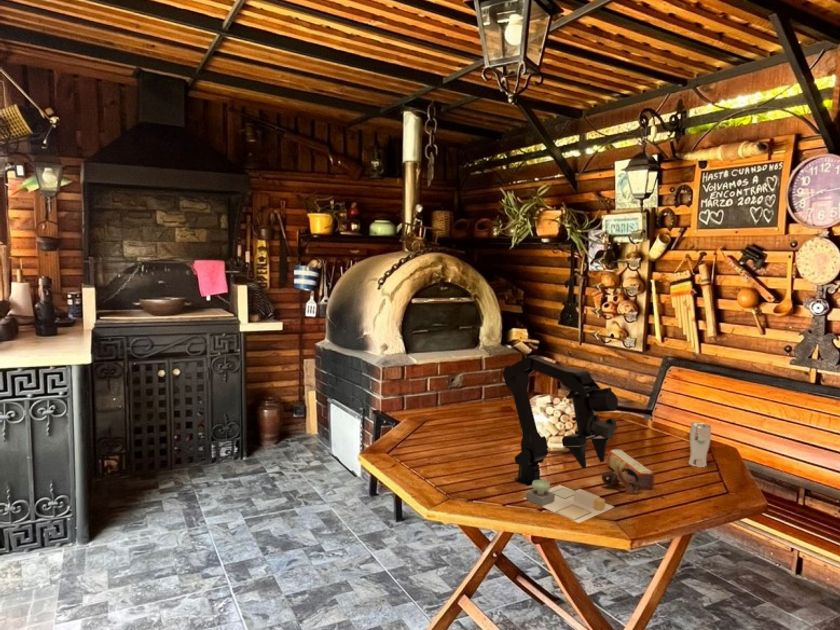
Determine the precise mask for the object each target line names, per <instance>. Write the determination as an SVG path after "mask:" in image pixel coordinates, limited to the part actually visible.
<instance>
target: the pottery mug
mask: <svg viewBox="0 0 840 630" xmlns="http://www.w3.org/2000/svg"><path fill="white" fill-rule="evenodd" d="M624 471H627V474H628V475H631V476H634V477H635V481H636V482H637V483H631V485H630V482H629V481H628V480H627V479H626V478H625V477H624V476H623V474H622V472H624ZM607 478H608V479H607ZM601 480H602V482H603V483H604V484H605V485H606V486H607V487H608V488H610V489H611V487H612V485H613V484H616V485H620V483H621V484H622V485H623V486H624V487H626V490H625V492H624V494H625V495H631V494H632V493H633V494H634V493H635V492H637V491H638V490H639V489H638V488H639V484H640V478H639V476H638V475H637V474H636V472H634V471H633V470H631V469H629V468H626V467H622V468H620V469H618V470H613V472H611V471H604V472H603V473H602V475H601Z"/></svg>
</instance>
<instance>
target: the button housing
mask: <svg viewBox="0 0 840 630" xmlns="http://www.w3.org/2000/svg"><path fill="white" fill-rule="evenodd" d="M525 498H526V499H525V501H528V502H530V503H533V504H534V505H537V506H538V507H539V506H540V507H541V506H544V505H547V504H549V503H552V502H554V498H555V494H554V493H551V492H549V491H544V495H542V496H541V495H538V494H537V490H535V489H533V488H532V489H530V490H529V491H526V493H525Z"/></svg>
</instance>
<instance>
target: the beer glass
mask: <svg viewBox="0 0 840 630" xmlns="http://www.w3.org/2000/svg"><path fill="white" fill-rule="evenodd" d="M711 436H712V426H711V425H710V424H708V423H704V422H692V423H691V425H690V431H689V447H690V448H689V449H690V457H689V460H688V464H689V465H690V466H692V467H695V466H697V467H696V468H702V467H703V468H706V467H707V464H708V463H707V455H708V451H709V449H710V444H711V438H712V437H711ZM705 466H706V467H705Z"/></svg>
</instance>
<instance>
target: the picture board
mask: <svg viewBox="0 0 840 630" xmlns="http://www.w3.org/2000/svg"><path fill="white" fill-rule="evenodd" d="M548 491H549V492H551V493H554V494H555V498H554V502H552V503H549V504H547V505H544V506H540V507H541V508H543V509H546V510H548V511H551V512H552V513H555V514H558V515H560V516H561V517H564V518H566V519H568V520H570V521H572V522H575V523H577V524H581V523H582V522H584V521H588V520H589V519H591V518H593V517H595V516H596V517H597V516H598V515H601V514H602V513H604V512H607V511H609V510H611V509H613V508H614V505H611V504H608V503H607V502H605V508H604V509H602V510H597V509H595V508H594V509H593V508H590V507H588V506H585V505H583V504H581V503H578V502H576V501H573V500H574V491H575V490H573V489H571V488H568V487H566V486H563V485H561V484H559V485H555V486H554V487H551V488H550V490H548ZM523 499H524V500H526V497H523Z"/></svg>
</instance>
